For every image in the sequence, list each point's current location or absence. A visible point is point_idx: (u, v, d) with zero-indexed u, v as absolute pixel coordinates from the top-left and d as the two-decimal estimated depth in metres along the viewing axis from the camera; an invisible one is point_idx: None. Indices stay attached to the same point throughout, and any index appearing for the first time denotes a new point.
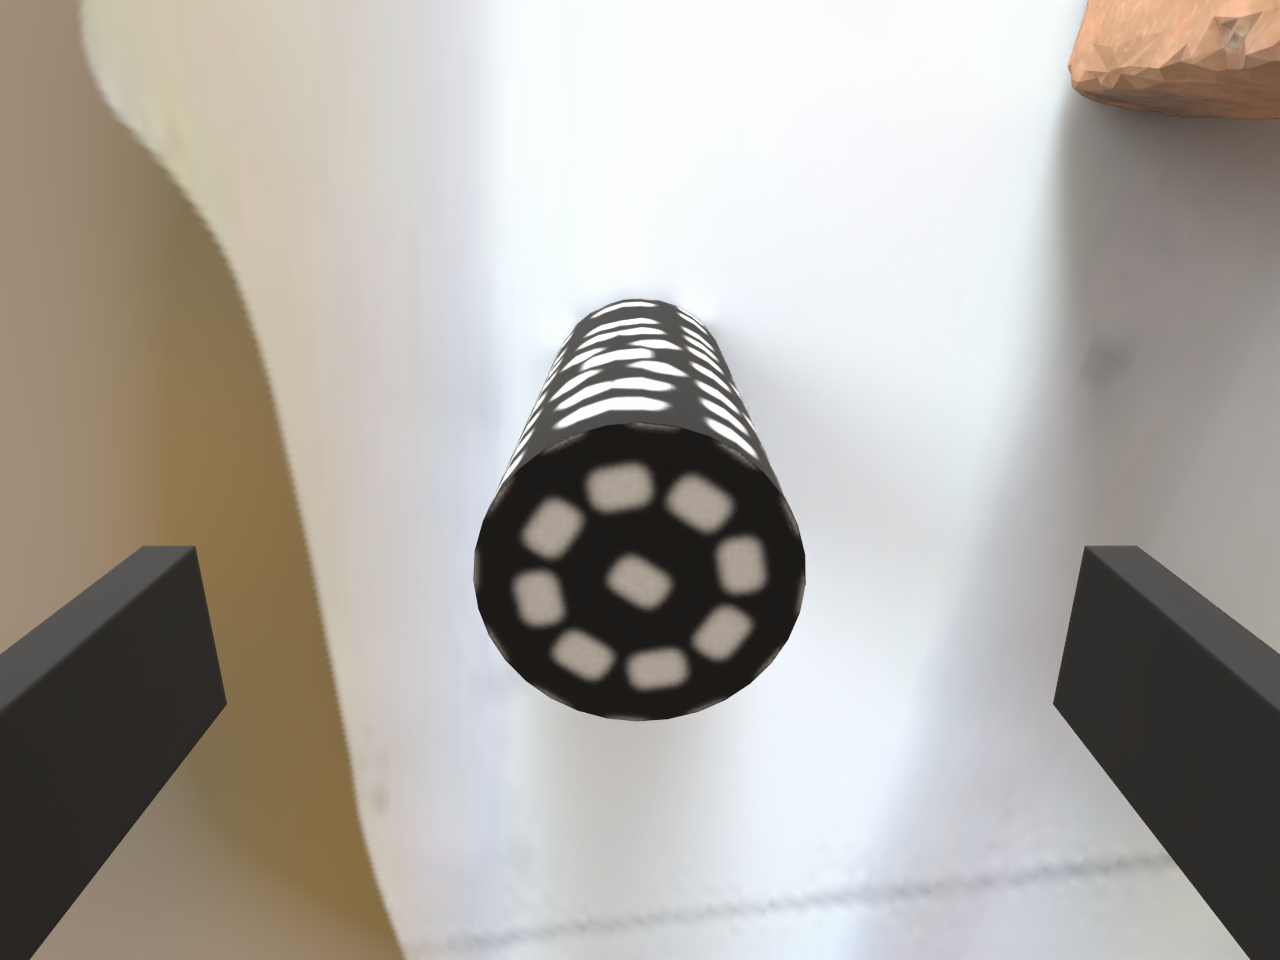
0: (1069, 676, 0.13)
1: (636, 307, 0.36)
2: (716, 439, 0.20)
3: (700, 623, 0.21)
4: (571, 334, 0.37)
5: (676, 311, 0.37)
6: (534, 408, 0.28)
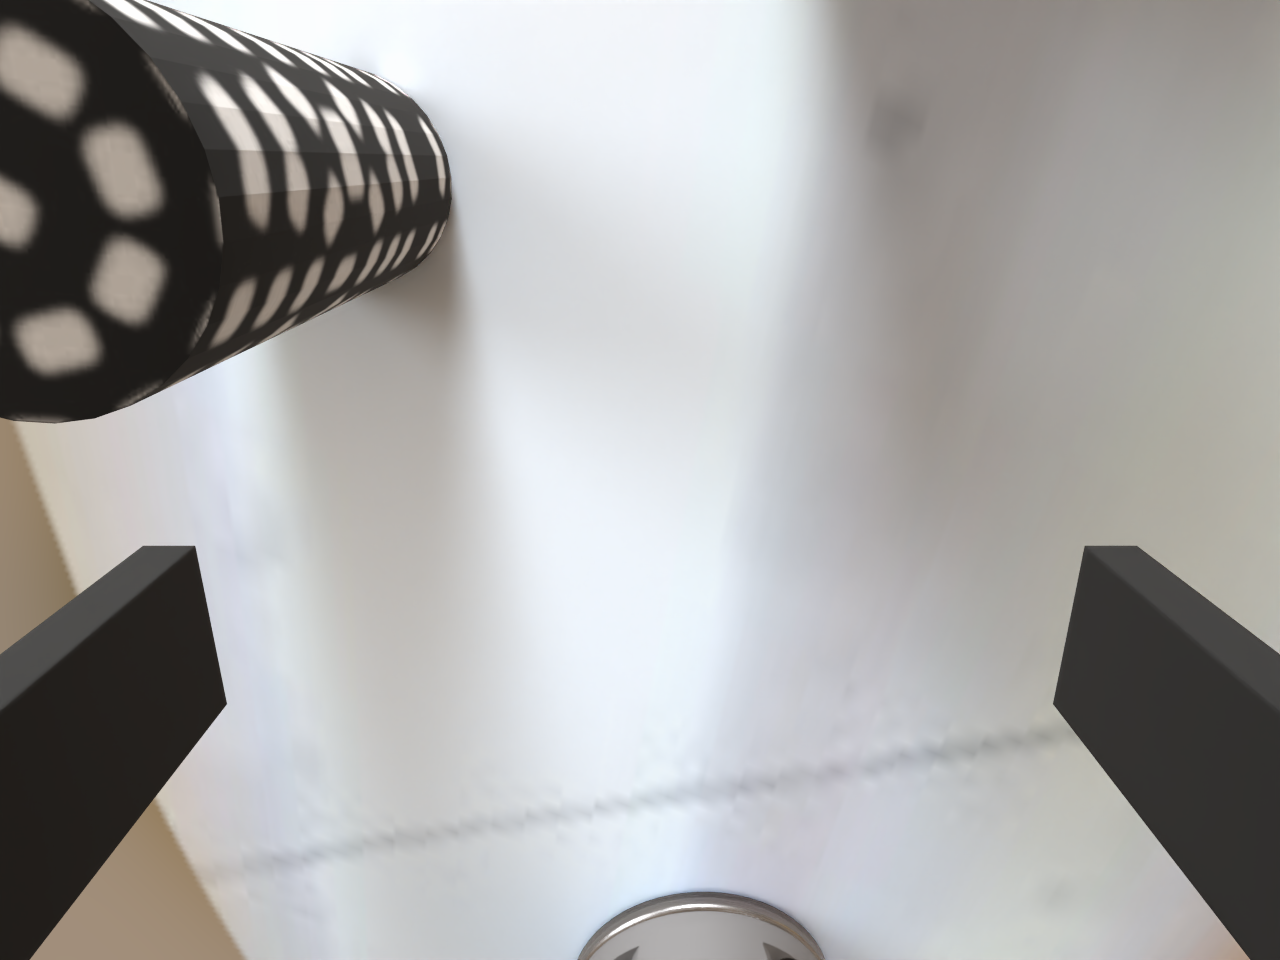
0: (1069, 676, 0.13)
1: None
2: None
3: (93, 266, 0.16)
4: None
5: (359, 69, 0.31)
6: None
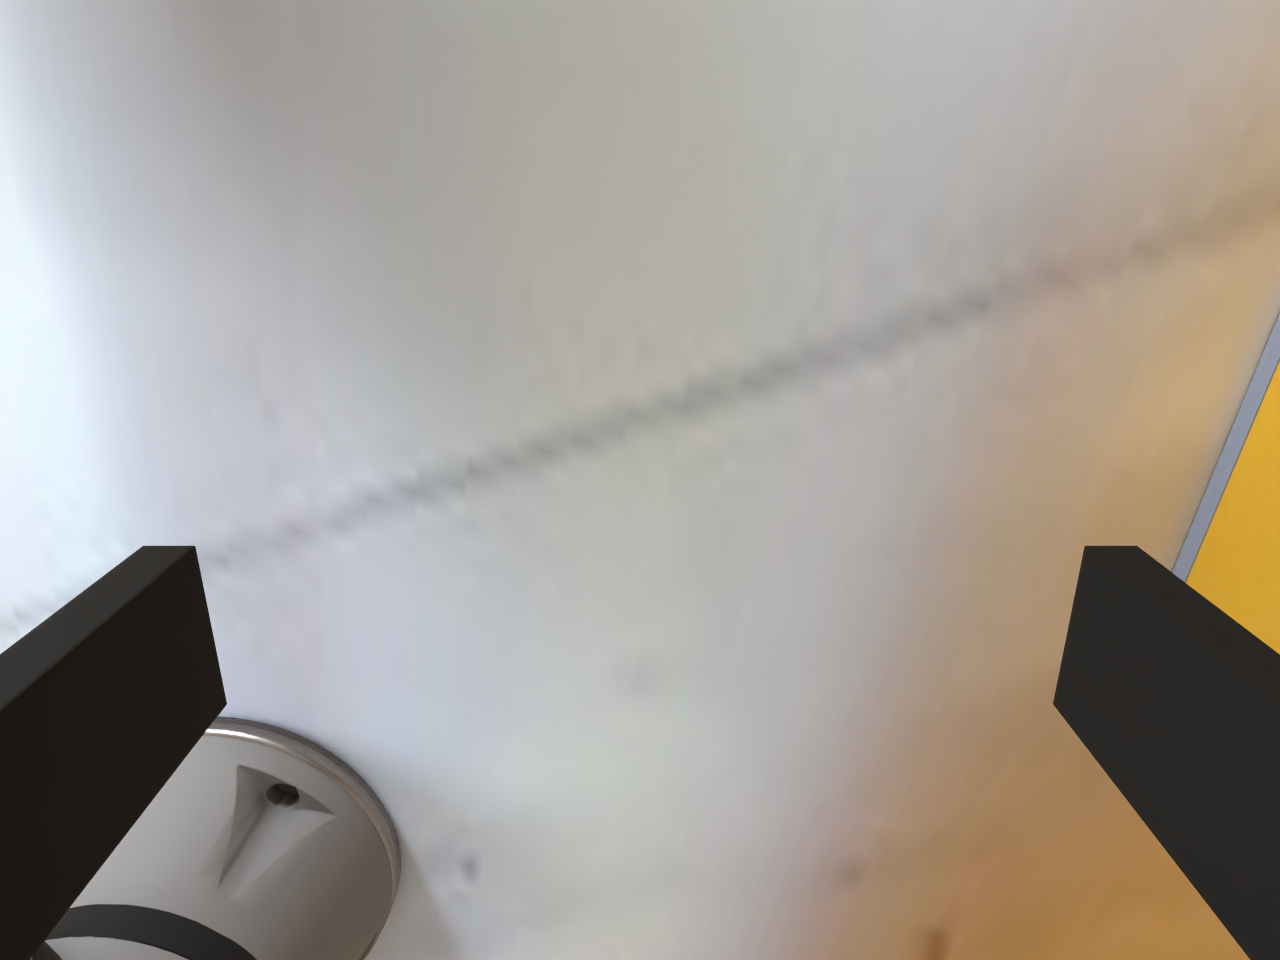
0: (1068, 676, 0.13)
1: None
2: None
3: None
4: None
5: None
6: None
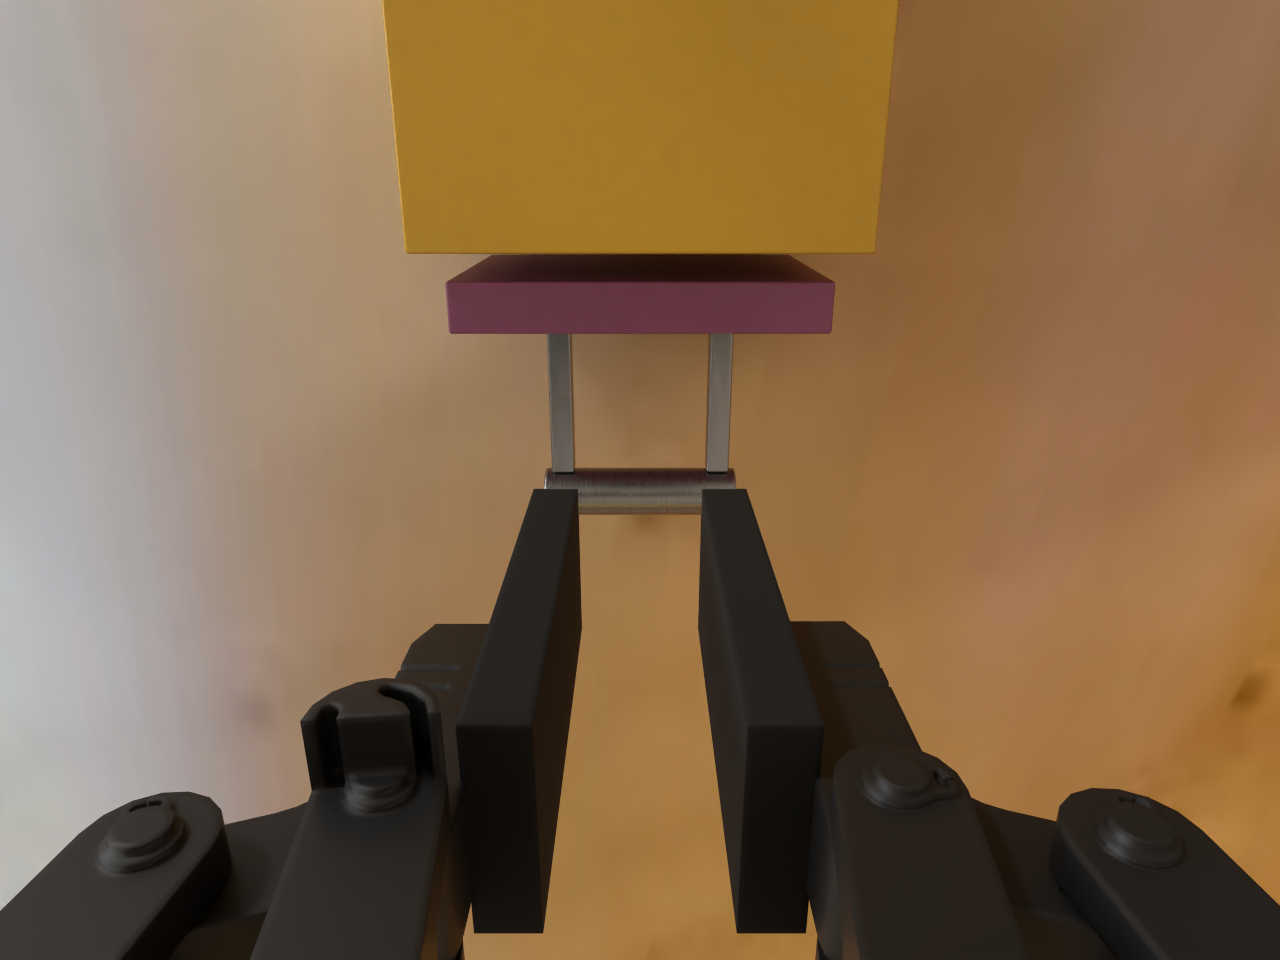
0: (699, 601, 0.15)
1: None
2: None
3: None
4: None
5: None
6: None
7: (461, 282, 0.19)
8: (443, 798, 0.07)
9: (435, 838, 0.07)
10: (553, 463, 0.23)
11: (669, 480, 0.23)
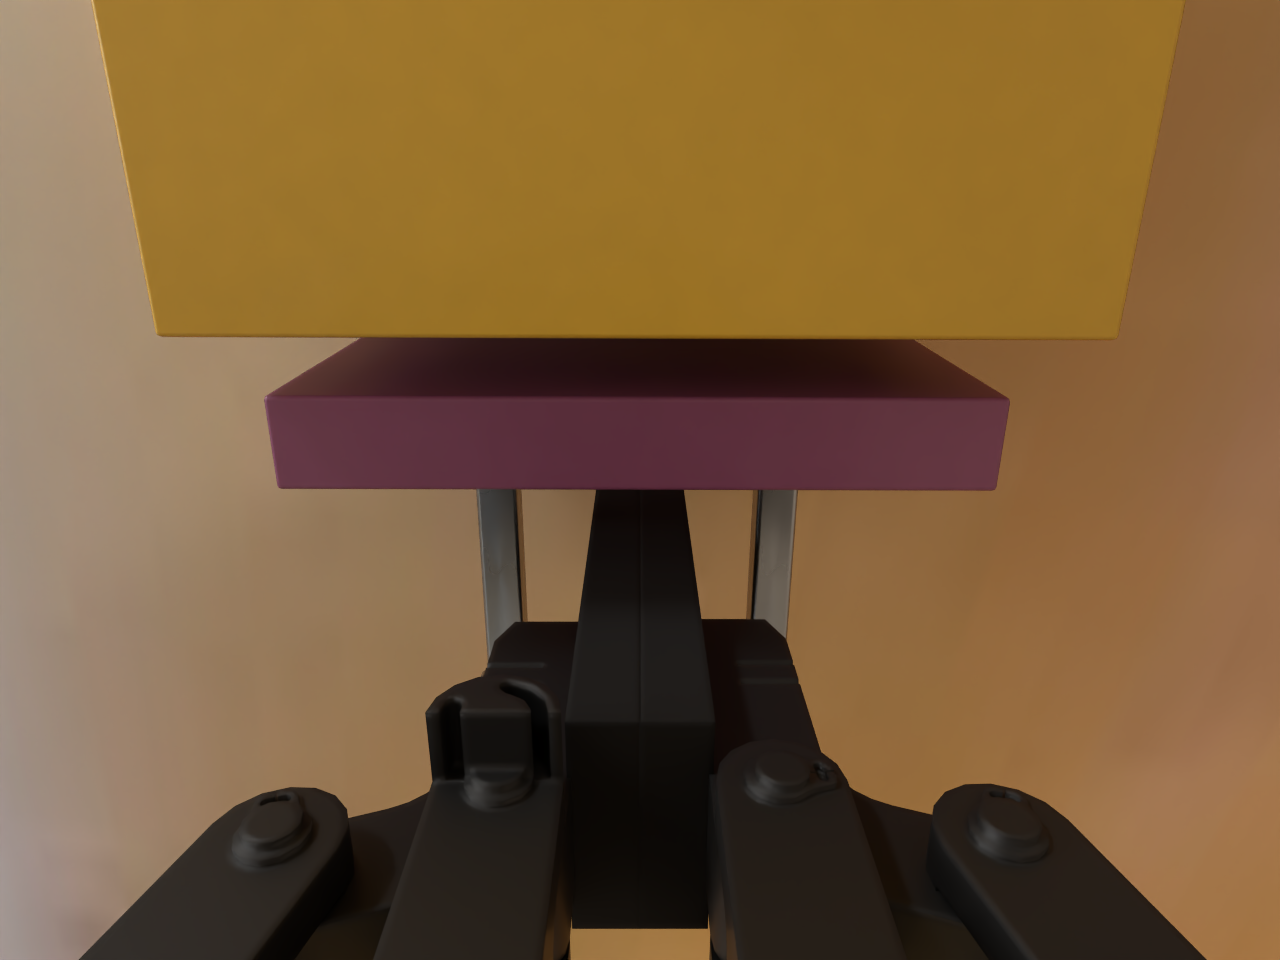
0: None
1: None
2: None
3: None
4: None
5: None
6: None
7: (294, 397, 0.10)
8: (560, 798, 0.07)
9: (553, 838, 0.07)
10: None
11: None
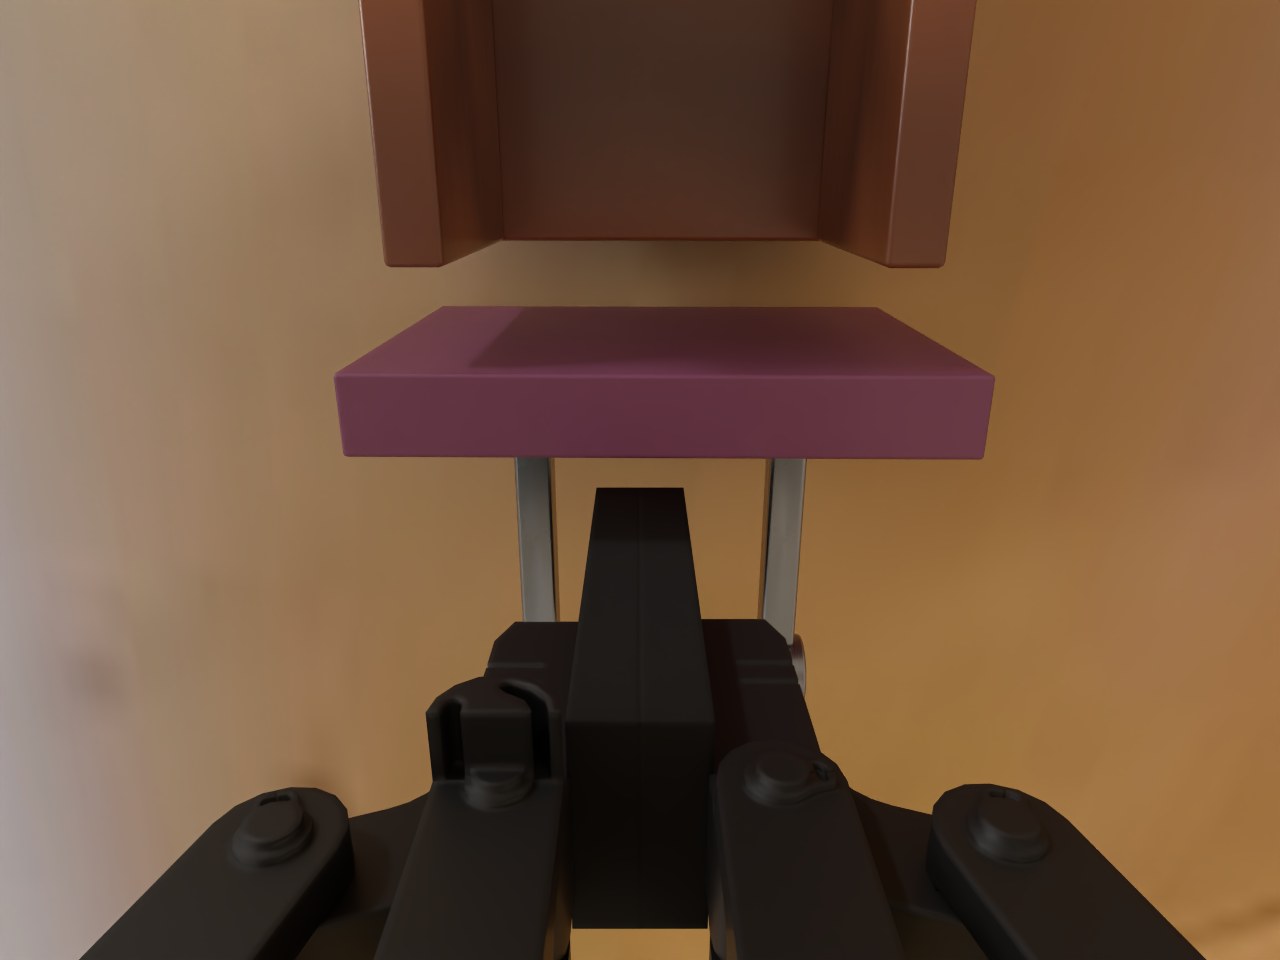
0: None
1: None
2: None
3: None
4: None
5: None
6: None
7: (360, 374, 0.11)
8: (560, 798, 0.07)
9: (553, 838, 0.07)
10: None
11: None
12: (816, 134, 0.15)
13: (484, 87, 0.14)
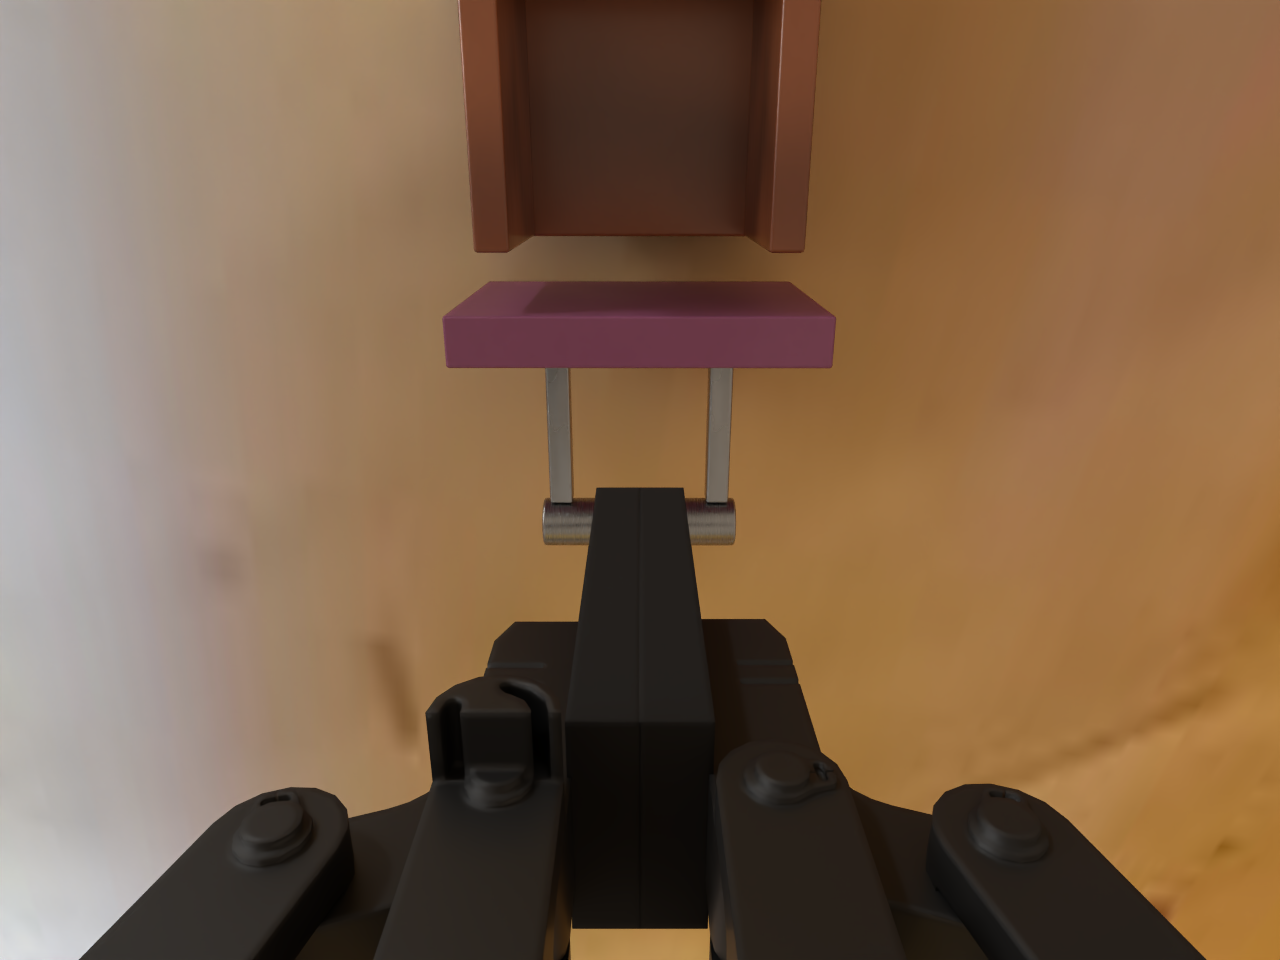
0: None
1: None
2: None
3: None
4: None
5: None
6: None
7: (458, 317, 0.19)
8: (560, 798, 0.07)
9: (553, 838, 0.07)
10: (551, 494, 0.23)
11: None
12: (741, 165, 0.23)
13: (525, 137, 0.21)
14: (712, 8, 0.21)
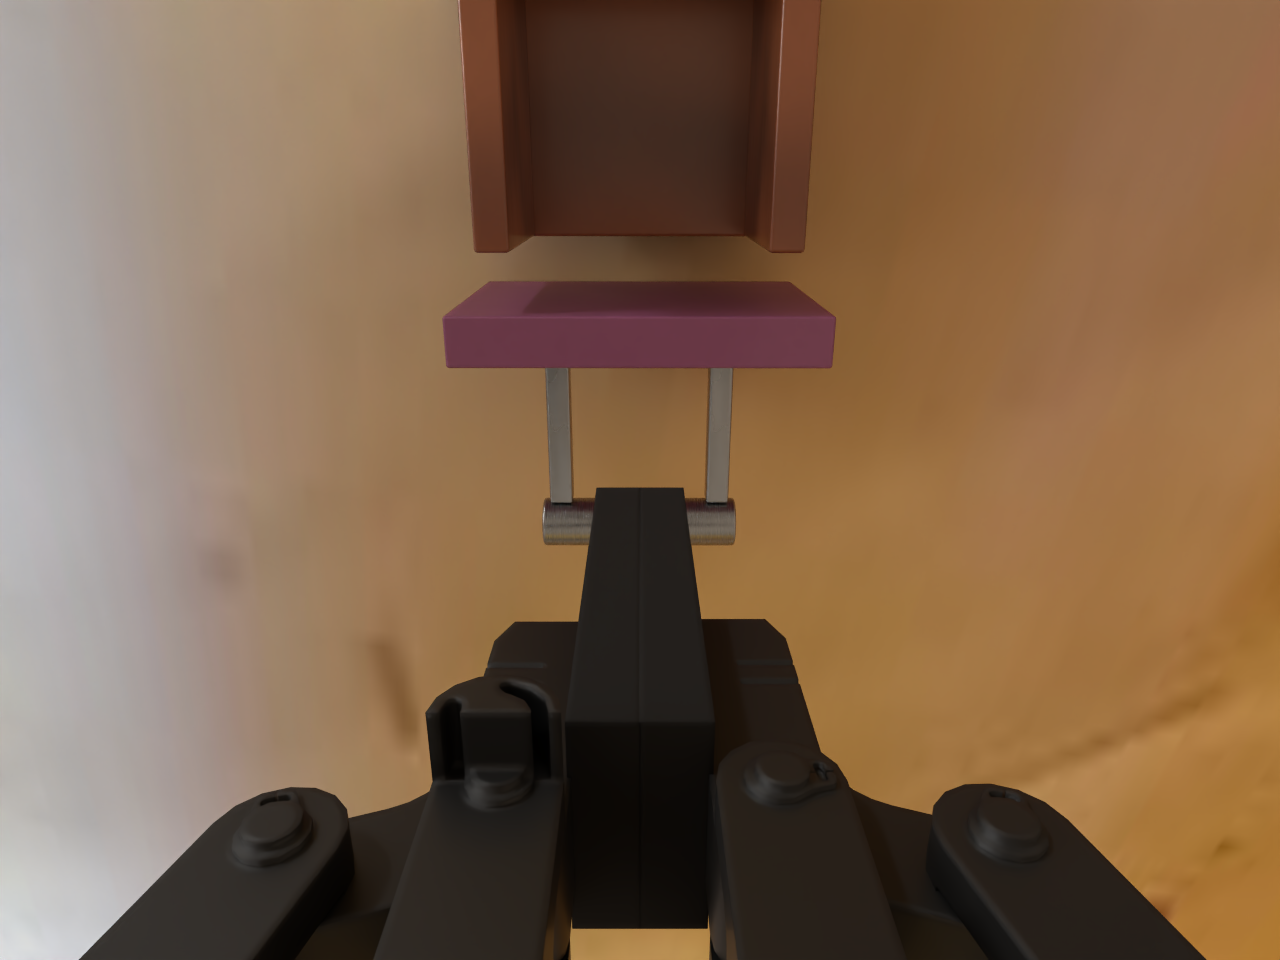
0: None
1: None
2: None
3: None
4: None
5: None
6: None
7: (458, 317, 0.19)
8: (560, 798, 0.07)
9: (553, 838, 0.07)
10: (551, 494, 0.23)
11: None
12: (741, 165, 0.23)
13: (525, 137, 0.21)
14: (712, 8, 0.21)
